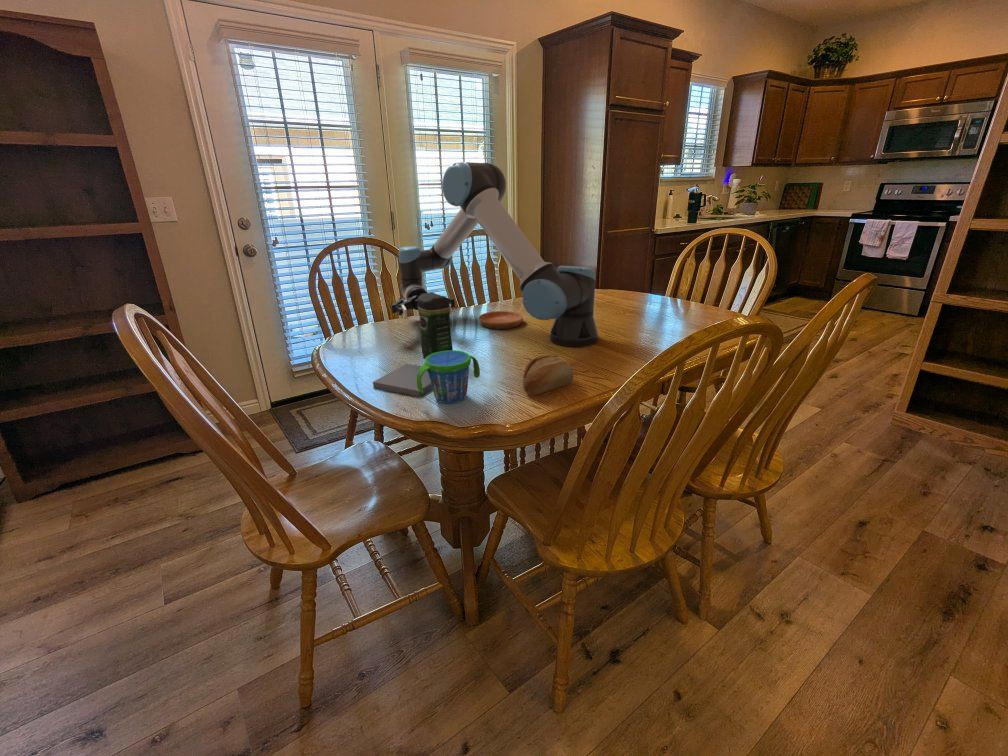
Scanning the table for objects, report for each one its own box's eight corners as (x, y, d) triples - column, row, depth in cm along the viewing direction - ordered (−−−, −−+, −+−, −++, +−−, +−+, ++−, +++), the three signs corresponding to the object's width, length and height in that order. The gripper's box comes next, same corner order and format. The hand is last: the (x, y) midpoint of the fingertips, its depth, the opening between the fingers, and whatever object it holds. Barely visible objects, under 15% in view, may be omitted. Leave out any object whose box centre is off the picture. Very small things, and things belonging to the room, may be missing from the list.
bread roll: (511, 391, 114) (511, 360, 111) (553, 374, 123) (554, 346, 120) (540, 403, 108) (540, 371, 104) (582, 385, 117) (583, 355, 114)
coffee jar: (457, 357, 137) (453, 294, 130) (433, 363, 133) (427, 298, 126) (441, 349, 144) (437, 289, 137) (418, 354, 140) (412, 292, 133)
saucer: (527, 329, 163) (527, 320, 162) (481, 332, 161) (481, 323, 160) (518, 317, 178) (518, 309, 176) (476, 320, 175) (476, 312, 174)
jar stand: (450, 376, 124) (450, 370, 123) (419, 396, 112) (418, 390, 111) (407, 368, 129) (406, 363, 129) (373, 387, 118) (372, 381, 117)
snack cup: (426, 414, 103) (422, 371, 100) (411, 397, 112) (407, 356, 108) (490, 398, 110) (488, 358, 106) (471, 383, 119) (469, 345, 115)
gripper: (453, 304, 167) (468, 319, 148) (381, 311, 159) (388, 328, 141) (451, 283, 164) (467, 296, 145) (378, 289, 157) (385, 303, 138)
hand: (428, 311), depth 143 cm, fingers open, 13 cm apart
